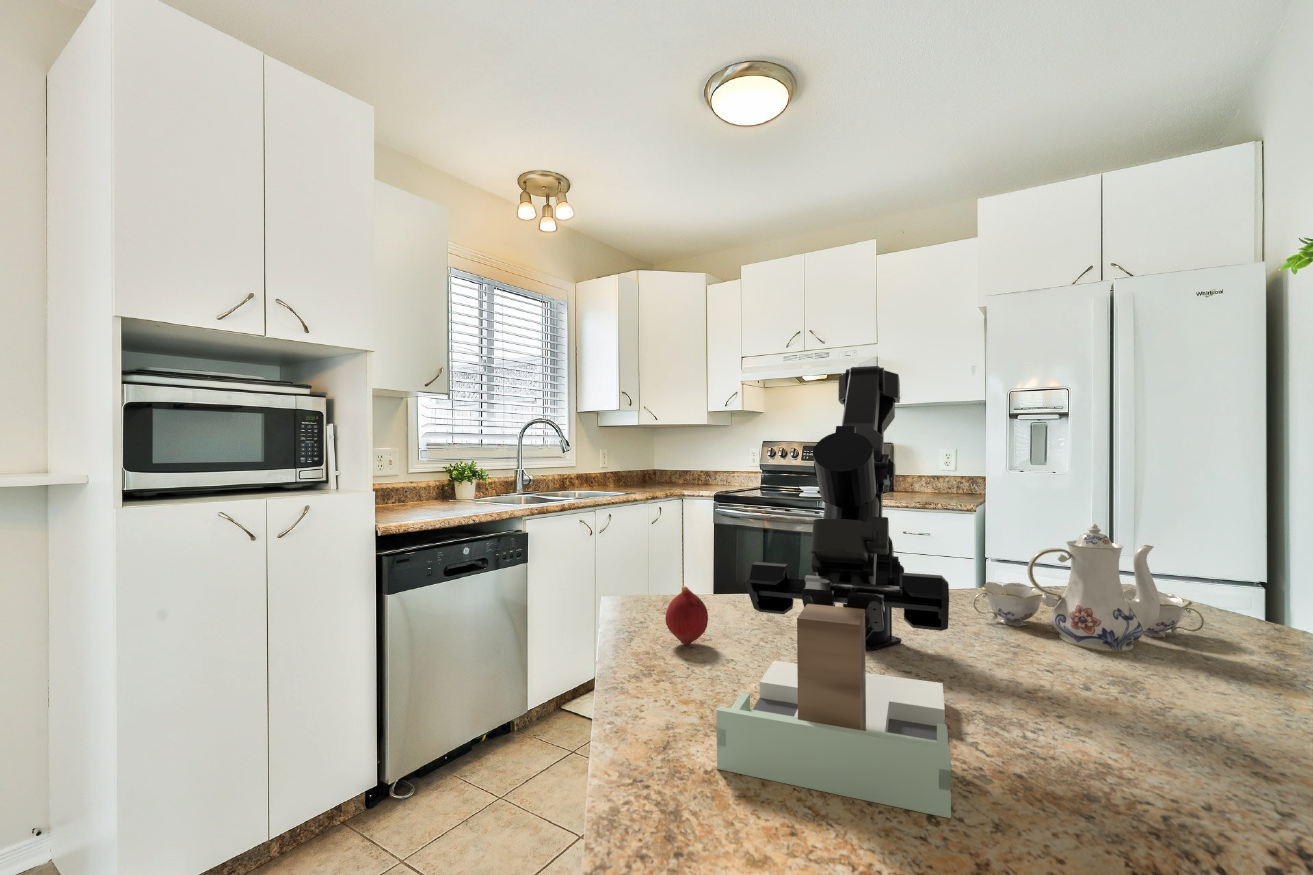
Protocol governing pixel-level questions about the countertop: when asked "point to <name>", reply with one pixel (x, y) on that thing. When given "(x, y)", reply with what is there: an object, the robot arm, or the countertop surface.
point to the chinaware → (1093, 598)
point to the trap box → (845, 742)
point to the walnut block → (832, 666)
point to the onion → (686, 616)
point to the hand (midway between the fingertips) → (836, 676)
